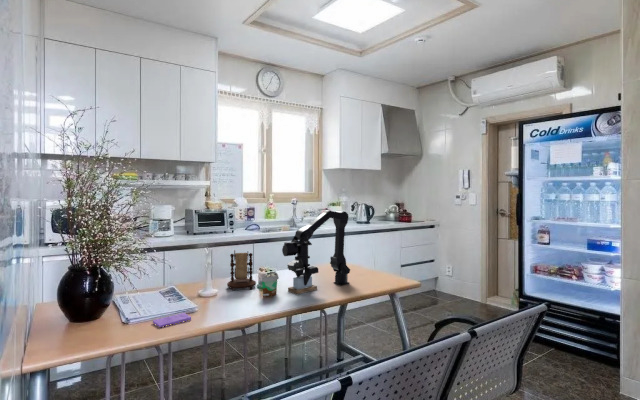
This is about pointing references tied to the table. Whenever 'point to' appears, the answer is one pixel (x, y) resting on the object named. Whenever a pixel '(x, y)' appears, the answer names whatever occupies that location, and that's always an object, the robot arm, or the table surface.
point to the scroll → (241, 272)
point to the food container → (270, 284)
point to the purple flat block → (172, 319)
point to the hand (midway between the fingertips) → (302, 284)
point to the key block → (301, 282)
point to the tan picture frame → (303, 290)
